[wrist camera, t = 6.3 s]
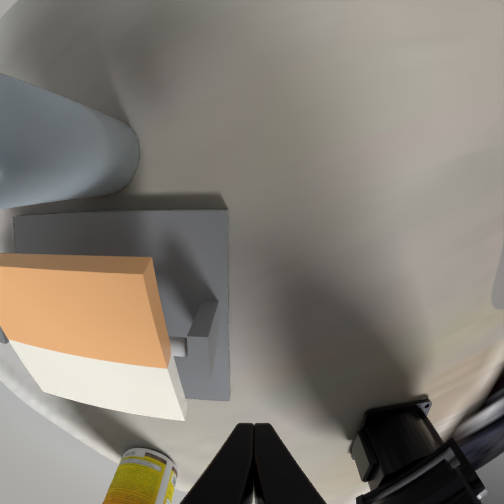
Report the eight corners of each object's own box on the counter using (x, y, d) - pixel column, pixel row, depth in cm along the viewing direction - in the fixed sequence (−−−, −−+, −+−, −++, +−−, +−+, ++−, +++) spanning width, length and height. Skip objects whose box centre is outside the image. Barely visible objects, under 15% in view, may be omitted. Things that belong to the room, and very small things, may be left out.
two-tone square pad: (173, 247, 12) (160, 275, 11) (199, 396, 18) (196, 422, 16) (-16, 245, 12) (-36, 263, 11) (46, 370, 18) (36, 389, 16)
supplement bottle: (113, 448, 22) (78, 524, 12) (156, 441, 22) (125, 531, 12) (147, 479, 23) (124, 553, 13) (190, 474, 23) (173, 558, 13)
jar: (141, 114, 16) (28, 53, 6) (139, 193, 17) (13, 210, 7) (75, 124, 16) (-49, 95, 6) (73, 197, 17) (-57, 218, 7)
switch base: (228, 209, 18) (217, 219, 12) (230, 392, 20) (224, 446, 15) (21, 215, 18) (-30, 226, 12) (49, 366, 20) (16, 400, 15)
